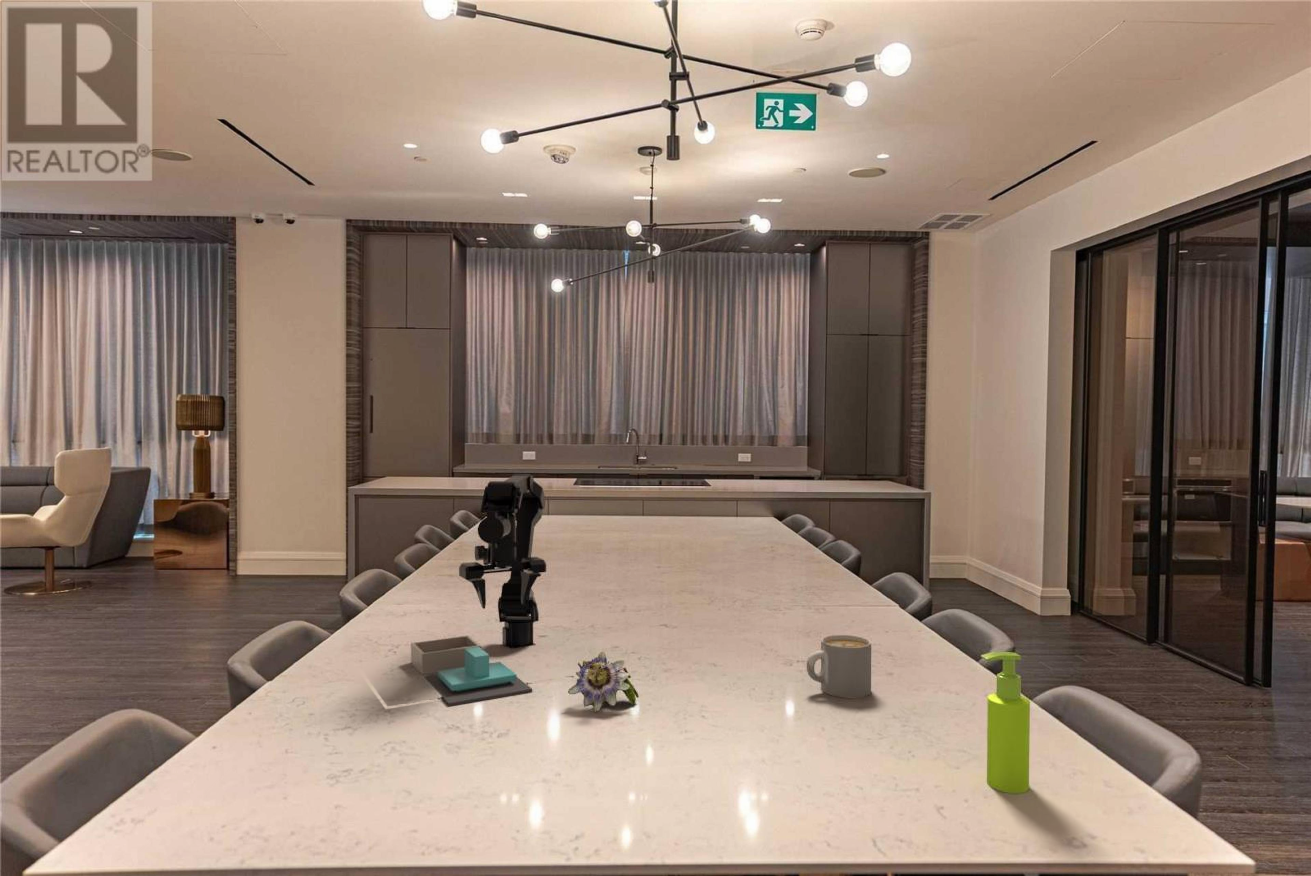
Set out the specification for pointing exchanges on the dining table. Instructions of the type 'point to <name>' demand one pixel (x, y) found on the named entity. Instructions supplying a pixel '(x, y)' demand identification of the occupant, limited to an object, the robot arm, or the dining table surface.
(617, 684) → the passion flower
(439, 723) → the dining table surface
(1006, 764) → the soap dispenser
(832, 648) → the coffee mug
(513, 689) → the rubber mat
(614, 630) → the dining table surface
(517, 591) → the robot arm
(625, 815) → the dining table surface
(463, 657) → the storage box
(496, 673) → the lid
